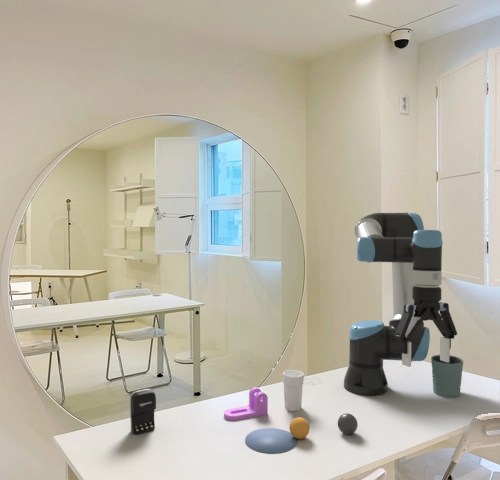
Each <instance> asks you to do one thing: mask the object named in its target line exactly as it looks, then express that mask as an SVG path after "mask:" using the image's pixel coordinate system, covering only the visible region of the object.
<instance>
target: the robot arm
mask: <svg viewBox="0 0 500 480" xmlns="http://www.w3.org/2000/svg"><path fill="white" fill-rule="evenodd" d="M354 236H355V237H356V239H357V240H356V260H357V261H359V262H361V263H362V262H365V263H391V275H392V276H391V277H392V281H391V282H392V307H393V308H392V309H393V310H392V311H393V316H392V317H391V319H389V320H388V321H389V322H388V325H385V324H384V323H385V322H383V321H382V320H374V319H369V320H367V319H366V320H361V321H357V322H354V323H353V324H351V326H350V328H349V336H348V339H349V348H348V349H349V354H348V355H349V357H348V367H347V370H346V373H345V375H344V378H343V388H344V389H345V390H347V391H348V392H350V393H354V394H357V395H362V396H363V395H364V396H378V395H383V394H386V393H387V392H388V389H389V385H388V384H389V383H388V380H387V379H388V378H387V376H386V373H385V370H384V360H386V361H401V365H402V366H406V367H408V368H410V367H412V362H423V361H424V360H426V358H427V356H428V353H429V350H430V349H429V348H430V342H431V341H430V340H431V334H430V328H429V327H427V326H425V322H424V321H432V322H433V323H434V325H435V326H436V328H437V330H438V331H439V332H440V334H441V335H442V336H440V337H439V355H440V360H441V361H444V362H449V356H450V352H451V348H452V347H451V346H452V339H455V336H457V335H458V331H457V329H456V325H455V323H454V321H453V318H452V315H451V313H450V306H449V303H448V302H442V287H440V286H441V285H442V272H443V271H442V268H443V267H442V266H443V265H442V264H443V263H442V260H443V243H444V242H443V234H442V231H440V230H439V229H425V226H424V222H423V219H422V217H421V216H420V214H419V213H416V212H415V213H414V212H375V213H371V214H367V215H365V216H363V217H361V218H360V219H359V220H358V221H357V222H356V224H355V227H354Z"/></svg>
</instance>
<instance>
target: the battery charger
mask: <svg viewBox="0 0 500 480" xmlns="http://www.w3.org/2000/svg"><path fill="white" fill-rule="evenodd" d="M156 409H157V396H156V393H155V392H154V391H153V389H151V388H144V389H139V390H136V391H133V392H131V394H130V396H129V416H130V432H131V433H132V434H134V435H138V434H140V435H141V434H143V433H147V432H150V431H153V430H155V427H156V425H155V423H156V422H155V410H156Z"/></svg>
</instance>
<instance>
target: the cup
mask: <svg viewBox="0 0 500 480" xmlns="http://www.w3.org/2000/svg"><path fill="white" fill-rule="evenodd" d="M304 378H305V374H304V372H303V371H300V370H295V369H287V370H285V371H283V372H282V381H283V382H282V384H283V395H284V396H283V397H284V409H286V410H287V411H291V412H296V411H300V410H301V409H302V401H303V400H302V399H303V385H304Z"/></svg>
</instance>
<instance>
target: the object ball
mask: <svg viewBox="0 0 500 480" xmlns="http://www.w3.org/2000/svg"><path fill="white" fill-rule="evenodd" d="M288 429H289V432H290V433H291V434H292V436H293V437H295V438H296V439H297V440H301V439H304V438H306V437H307V436H308V435H309V433H310V424H309V422H308V421H307V420H306V418H304V417H299V416H298V417H295V418H293V419H292V420H291V421H290V424H289V427H288Z"/></svg>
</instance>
